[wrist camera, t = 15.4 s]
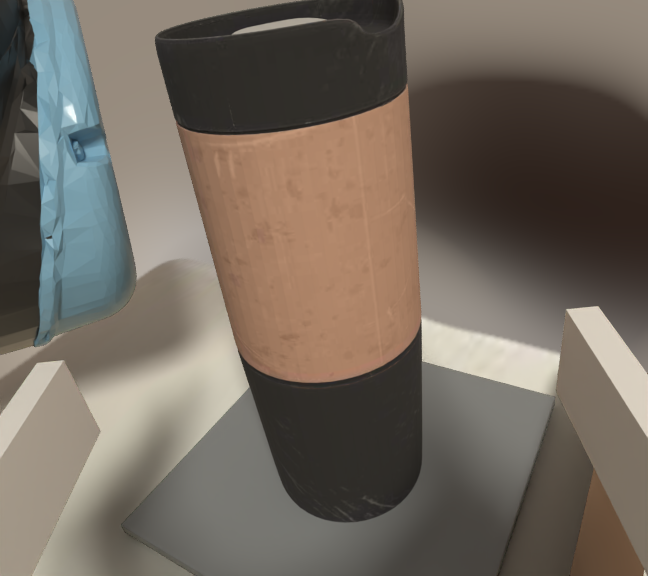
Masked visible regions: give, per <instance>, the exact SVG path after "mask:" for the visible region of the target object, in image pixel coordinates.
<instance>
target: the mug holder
mask: <svg viewBox="0 0 648 576" xmlns="http://www.w3.org/2000/svg"><path fill="white" fill-rule="evenodd" d="M647 374H648V373H647ZM643 574H644V568H643V566H642V564H641V562H640V560H639V558H638V556H637V554H636V552H635V550H634V548H633V545H632V543H631V541H630V539H629V537H628V535H627V533H626V531H625V529H624V527H623V525H622V523H621V521H620V519H619V517H618V515H617V513H616V511H615V509H614V507H613V505H612V503H611V501H610V499H609V497H608V495H607V493H606V491H605V489H604V487H603V485H602V483H601V481H600V479H599V477H598V475H597V473H596V471H595V469H594V470H593V474H592V479H591V483H590V487H589V492H588V496H587V501H586V505H585V509H584V514H583V518H582V523H581V527H580V531H579V536H578V540H577V545H576V549H575V553H574V558H573V562H572V567H571V571H570V575H569V576H643Z"/></svg>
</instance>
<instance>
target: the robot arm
mask: <svg viewBox="0 0 648 576" xmlns="http://www.w3.org/2000/svg"><path fill="white" fill-rule="evenodd" d="M136 277H137V276H136V267H135V262H134V257H133V252H132V248H131V243H130V239H129V234H128V230H127V225H126V221H125V217H124V213H123V208H122V204H121V200H120V196H119V191H118V187H117V183H116V178H115V175H114V170H113V166H112V162H111V158H110V153H109V149H108V145H107V141H106V134H105V130H104V126H103V122H102V118H101V114H100V109H99V104H98V99H97V95H96V90H95V86H94V82H93V77H92V72H91V69H90V64H89V60H88V55H87V51H86V47H85V43H84V39H83V34H82V30H81V26H80V22H79V18H78V14H77V10H76V6H75V4H74V1H73V0H0V355H2V354H6V353H9V352H13V351H16V350H20V349H23V348H26V347H30V346H34V347H39V346H43V345H46V344H47V343H49V342H50V341H51V340H52V338H53V337H54V336H57V335H59V334H62V333H65V332H68V331H71V330H73V329H76V328H79V327H82V326H85V325H88V324H90V323H93V322H96V321H99V320H102V319H105V318H107V317H110V316H112V315H114V314H115V313H117V312H118V311H120V310H121V309H122V308H123V307H124V306H125V305H126V304H127V303H128V301H129V300H130V298H131V296H132V294H133V292H134V290H135V286H136ZM556 392H557V394H558V396H559V398H560V400H561V402H562V404H563V406H564V408H565V411H566V413H567V415H568V417H569V419H570V421H571V423H572V425H573V427H574V429H575V431H576V433H577V435H578V437H579V439H580V441H581V443H582V445H583V447H584V449H585V451H586V453H587V455H588V457H589V459H590V461H591V463H592V465H593V467H594V469H595V471H596V473H597V475H598V477H599V479H600V481H601V483H602V485H603V487H604V489H605V491H606V493H607V495H608V497H609V499H610V501H611V503H612V505H613V507H614V509H615V511H616V513H617V515H618V517H619V519H620V521H621V523H622V525H623V527H624V529H625V531H626V533H627V535H628V537H629V539H630V541H631V543H632V545H633V548H634V550H635V552H636V554H637V556H638V558H639V560H640V562H641V564H642V566H643V568H644V570H645V572H646V574H647V576H648V374H647V373H646V371H645V370H644V369H643V368H642V366H641V365H640V363H639V362H638V361H637V359H636V358H635V356H634V355H633V354H632V352H631V351H630V350H629V348H628V347H627V345H626V344H625V343H624V341H623V340H622V339H621V337H620V336H619V334H618V333H617V332H616V330H615V329H614V327H613V326H612V325H611V323H610V322H609V321H608V319H607V318H606V316H605V315H604V314H603V312H602V311H601V310H600V308H599V307H598V306H597V307H586V308H576V309H566V315H565V323H564V331H563V338H562V347H561V354H560V362H559V370H558V378H557V386H556ZM99 433H100V429H99V427H98V425H97V423H96V421H95V419H94V417H93V416H92V414H91V412H90V410H89V408H88V406H87V404H86V402H85V400H84V398H83V396H82V394H81V392H80V390H79V388H78V386H77V385H76V383H75V381H74V379H73V377H72V375H71V373H70V371H69V369H68V367H67V365H66V363H65V361H64V360H60V361H50V362H40V363H37V364H36V365H35V366H34V368H33V369H32V371H31V372H30V374H29V375H28V376H27V378H26V379H25V381H24V382H23V383H22V385H21V386H20V388H19V389H18V391H17V392H16V393H15V395H14V396H13V398H12V399H11V400H10V402H9V403H8V405H7V406H6V408H5V409H4V410H3V412H2V413H1V415H0V576H32V574H33V572H34V570H35V568H36V566H37V564H38V562H39V559H40V557H41V555H42V553H43V551H44V549H45V547H46V545H47V543H48V541H49V538H50V536H51V534H52V532H53V530H54V528H55V526H56V524H57V522H58V520H59V517H60V515H61V513H62V511H63V509H64V507H65V505H66V503H67V501H68V499H69V496H70V494H71V492H72V490H73V488H74V486H75V484H76V482H77V480H78V478H79V475H80V473H81V471H82V469H83V467H84V465H85V463H86V461H87V459H88V457H89V454H90V452H91V450H92V448H93V446H94V444H95V442H96V440H97V438H98V436H99Z"/></svg>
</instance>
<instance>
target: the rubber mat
mask: <svg viewBox="0 0 648 576" xmlns="http://www.w3.org/2000/svg"><path fill="white" fill-rule="evenodd" d="M554 403H555V397H554V396H550V395H546V394H542V393H539V392H535V391H531V390H527V389H524V388H520V387H516V386H512V385H509V384H505V383H501V382H497V381H493V380H490V379H486V378H482V377H478V376H475V375H471V374H467V373H463V372H460V371H456V370H452V369H448V368H445V367H441V366H437V365H433V364H429V363H426V362H422V465H421V470H420V474H419V477H418V480H417V482H416V484H415V486H414V487H413V489H412V491H411V492H410V493H409V495H408V496H407V497H406V498H405V499H404V500H403V501H402V502H401V503H400V504H398V505H397V506H396V507H395V508H393V509H392V510H390V511H388V512H386V513H385V514H382V515H380V516H378V517H375V518H372V519H369V520H365V521H359V522H347V523H344V522H333V521H328V520H324V519H321V518H318V517H315V516H313V515H311V514H309V513H307V512H306V511H304V510H303V509H301V508H300V507H299V506H298V505H297V504H296V503H295V502H294V501H293V500H292V499H291V498H290V496H289V495H288V494H287V492H286V490H285V489H284V487H283V484H282V482H281V479H280V476H279V474H278V471H277V468H276V465H275V462H274V459H273V456H272V453H271V450H270V447H269V444H268V441H267V438H266V435H265V432H264V429H263V426H262V423H261V420H260V416H259V413H258V410H257V407H256V404H255V401H254V398H253V395H252V392H251V389H250V388H249V389H248V390H247V391H246V392H245V393H244V394H243V395H242V396H241V397H240V398H239V399H238V400H237V401H236V403H235V404H234V405H233V406H232V407H231V408H230V409H229V410H228V411H227V412H226V413H225V414H224V415H223V416H222V417H221V419H220V420H219V421H218V422H217V423H216V424H215V425H214V426H213V427H212V428H211V429H210V430H209V431H208V432H207V433H206V435H205V436H204V437H203V438H202V439H201V440H200V441H199V442H198V443H197V444H196V445H195V446H194V447H193V448H192V449H191V451H190V452H189V453H188V454H187V455H186V456H185V457H184V458H183V459H182V460H181V461H180V462H179V463H178V464H177V465H176V467H175V468H174V469H173V470H172V471H171V472H170V473H169V474H168V475H167V476H166V477H165V478H164V479H163V480H162V481H161V483H160V484H159V485H158V486H157V487H156V488H155V489H154V490H153V491H152V492H151V493H150V494H149V495H148V496H147V497H146V499H145V500H144V501H143V502H142V503H141V504H140V505H139V506H138V507H137V508H136V509H135V510H134V511H133V512H132V514H131V515H130V516H129V517H128V518H127V519H126V520H125V521H124V522H123V523H122V524H121V526H122V528H123V529H124V531H125V533H127V534H129V535H130V536H132V537H134V538H135V539H137V540H138V541H140V542H142V543H143V544H145V545H147V546H148V547H150V548H151V549H153V550H155V551H156V552H158V553H160V554H161V555H163V556H164V557H166V558H168V559H169V560H171V561H173V562H174V563H176V564H178V565H179V566H181V567H182V568H184V569H186V570H187V571H189V572H191V573H192V574H194V575H195V576H498V574H499V571H500V568H501V565H502V562H503V559H504V556H505V553H506V550H507V547H508V544H509V541H510V538H511V535H512V532H513V529H514V526H515V523H516V520H517V517H518V513H519V510H520V507H521V504H522V501H523V498H524V495H525V492H526V489H527V486H528V483H529V480H530V477H531V474H532V471H533V468H534V465H535V462H536V459H537V456H538V453H539V450H540V447H541V444H542V441H543V438H544V434H545V431H546V428H547V425H548V422H549V419H550V416H551V413H552V410H553V407H554Z"/></svg>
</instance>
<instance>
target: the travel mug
mask: <svg viewBox="0 0 648 576" xmlns="http://www.w3.org/2000/svg"><path fill="white" fill-rule="evenodd" d="M155 44H156V50H157V55H158V58H159V62H160V66H161V69H162V73H163V77H164V80H165V84H166V88H167V92H168V95H169V99H170V103H171V106H172V110H173V113H174V117H175V119H176V125H177V128H178V132H179V136H180V139H181V143H182V147H183V150H184V154H185V158H186V162H187V165H188V169H189V172H190V176H191V180H192V184H193V187H194V191H195V195H196V198H197V202H198V205H199V210H200V213H201V217H202V220H203V224H204V228H205V232H206V235H207V239H208V243H209V246H210V250H211V254H212V258H213V261H214V265H215V269H216V272H217V276H218V280H219V283H220V287H221V291H222V294H223V298H224V302H225V306H226V309H227V313H228V317H229V320H230V324H231V328H232V331H233V335H234V339H235V342H236V345H237V348H238V352H239V355H240V358H241V361H242V364H243V367H244V371H245V374H246V377H247V380H248V383H249V386H250V389H251V392H252V395H253V398H254V401H255V404H256V407H257V410H258V413H259V416H260V420H261V423H262V426H263V429H264V432H265V435H266V438H267V441H268V444H269V447H270V450H271V453H272V456H273V459H274V462H275V465H276V468H277V471H278V474H279V476H280V479H281V482H282V484H283V487H284V489H285V490H286V492H287V494H288V495H289V496H290V498H291V499H292V500H293V501H294V502H295V503H296V504H297V505H298V506H299V507H300V508H301V509H303V510H304V511H306V512H307V513H309V514H311V515H313V516H315V517H318V518H321V519H324V520H328V521H333V522H344V523H347V522H359V521H365V520H369V519H372V518H375V517H378V516H380V515H382V514H385V513H386V512H388V511H390V510H392V509H393V508H395V507H396V506H397V505H398V504H400V503H401V502H402V501H403V500H404V499H405V498H406V497H407V496H408V495H409V493H410V492H411V491H412V489H413V487H414V486H415V484H416V482H417V480H418V477H419V474H420V470H421V465H422V330H421V301H420V284H419V267H418V250H417V234H416V218H415V201H414V183H413V168H412V150H411V133H410V117H409V99H408V85H407V65H406V49H405V31H404V7H403V2H402V0H303V1H296V2H289V3H282V4H276V5H270V6H264V7H258V8H253V9H247V10H242V11H237V12H232V13H227V14H222V15H217V16H213V17H208V18H204V19H200V20H196V21H192V22H188V23H185V24H181V25H177V26H174V27H171V28H169V29H166V30H164V31H161V32H160V33H158V34H157V35H156V37H155Z"/></svg>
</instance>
